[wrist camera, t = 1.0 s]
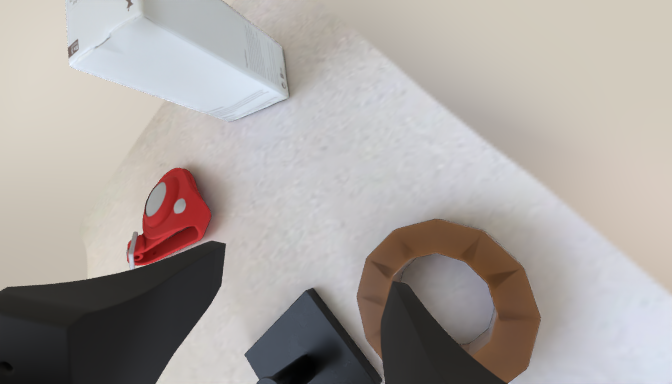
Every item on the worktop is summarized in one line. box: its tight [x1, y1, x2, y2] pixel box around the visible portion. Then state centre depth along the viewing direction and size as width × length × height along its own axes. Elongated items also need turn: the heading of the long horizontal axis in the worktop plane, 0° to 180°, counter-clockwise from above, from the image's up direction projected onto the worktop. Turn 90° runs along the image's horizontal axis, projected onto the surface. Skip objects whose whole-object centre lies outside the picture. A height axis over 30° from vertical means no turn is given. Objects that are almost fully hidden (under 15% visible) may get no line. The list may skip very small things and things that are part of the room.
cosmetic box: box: [66, 0, 289, 122], centre depth 26 cm, size 8×6×15 cm
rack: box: [245, 288, 382, 384], centre depth 25 cm, size 9×9×6 cm
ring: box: [357, 219, 541, 383], centre depth 22 cm, size 11×11×3 cm
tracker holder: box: [126, 168, 211, 270], centre depth 34 cm, size 12×4×10 cm
